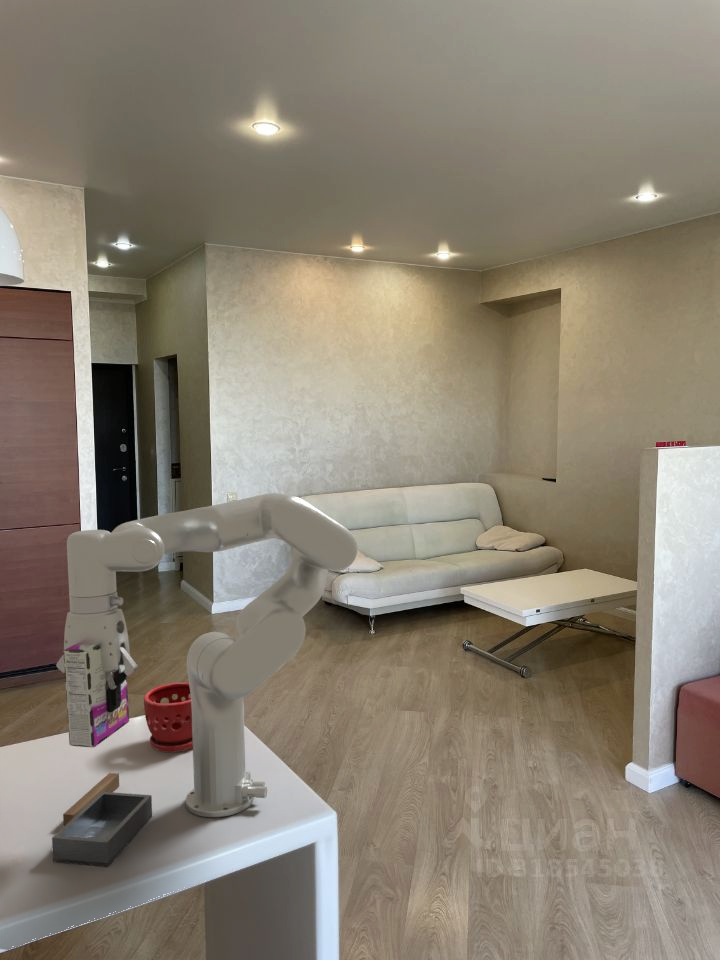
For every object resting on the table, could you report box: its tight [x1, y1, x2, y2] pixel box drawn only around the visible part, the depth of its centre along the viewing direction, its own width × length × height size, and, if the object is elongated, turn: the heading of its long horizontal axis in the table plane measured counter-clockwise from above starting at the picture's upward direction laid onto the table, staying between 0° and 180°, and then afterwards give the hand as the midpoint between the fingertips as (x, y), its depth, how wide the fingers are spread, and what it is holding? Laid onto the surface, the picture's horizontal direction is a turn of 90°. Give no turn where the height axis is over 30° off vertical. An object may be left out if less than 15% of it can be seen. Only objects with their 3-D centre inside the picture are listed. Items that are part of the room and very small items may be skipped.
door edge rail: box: [62, 772, 120, 827], centre depth 138 cm, size 2×16×2 cm, turn 170°
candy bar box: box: [62, 644, 130, 748], centre depth 126 cm, size 11×5×16 cm, turn 166°
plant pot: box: [143, 682, 193, 753], centre depth 164 cm, size 13×13×12 cm
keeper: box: [51, 791, 153, 868], centre depth 126 cm, size 10×16×4 cm, turn 170°
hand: (98, 707), depth 127 cm, fingers closed on candy bar box, 5 cm apart
